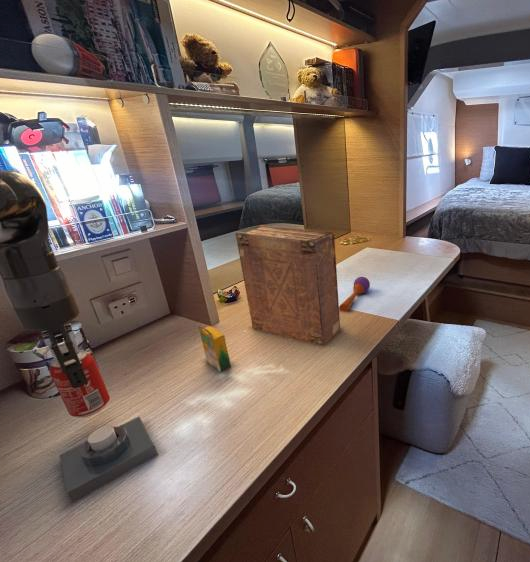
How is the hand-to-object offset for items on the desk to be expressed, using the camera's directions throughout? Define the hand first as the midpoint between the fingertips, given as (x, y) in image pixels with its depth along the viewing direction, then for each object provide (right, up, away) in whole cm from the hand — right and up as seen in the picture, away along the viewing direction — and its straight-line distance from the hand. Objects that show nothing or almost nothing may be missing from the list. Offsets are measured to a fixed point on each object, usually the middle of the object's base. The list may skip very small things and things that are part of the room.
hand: (77, 376), depth 63 cm
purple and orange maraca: (+49, +11, +56) cm, 75 cm away
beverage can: (0, -7, +3) cm, 8 cm away
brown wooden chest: (+32, +3, +38) cm, 50 cm away
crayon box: (+16, -4, +23) cm, 28 cm away
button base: (+9, -14, -3) cm, 17 cm away
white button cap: (+9, -10, -5) cm, 14 cm away
